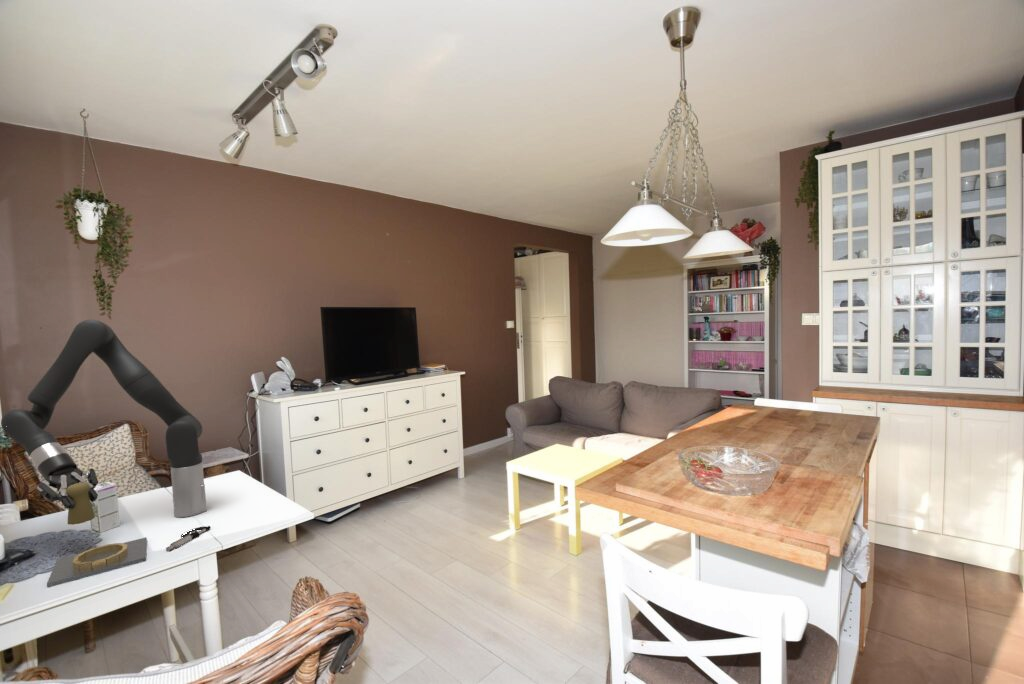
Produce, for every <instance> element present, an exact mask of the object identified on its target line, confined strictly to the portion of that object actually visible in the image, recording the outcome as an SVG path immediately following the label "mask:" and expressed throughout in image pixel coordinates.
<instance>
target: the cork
mask: <svg viewBox="0 0 1024 684" xmlns="http://www.w3.org/2000/svg"><path fill="white" fill-rule="evenodd" d="M88 483H89V482H88ZM88 483H85V482H83V483H76V484H73V485H70V486H69V487H68V488H67V489H66V492H67V495H69V496H70V498H71V499H72V501H73V502H74V503H75V506H74V508H73V509H70V510H69V509H67V510H68V513H67V525H70V526H71V525H73V526H74V525H79V524H84V523H87V522H89V521H90V522H91V520H92V519H93V518H95V516H94V512H93V509H92V505H91V502H90V498H89V495H88V492H89V490H90V486H89V484H88Z"/></svg>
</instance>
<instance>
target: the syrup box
mask: <svg viewBox="0 0 1024 684" xmlns="http://www.w3.org/2000/svg"><path fill="white" fill-rule="evenodd" d="M94 490H95V491H96V493H97V494H98V497H97V499H96V501H94V502H91V501H90V502H91V505H92V509H93V512H94V516H95V518H93V519H92V520H90V528H91V530H92V531H95V532H98V533H103V532H106V530H107V531H109V529H110V530H111V528H112V529H115V528H117V527H120V526H121V522H120V512H119V511H120V510H119V501H118V494H117V493H118V492H117V485H116V483H113V482H109V481H105V482H101V483H99V482H98V484H97V485H96V487H95V488H94Z"/></svg>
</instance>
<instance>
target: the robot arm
mask: <svg viewBox="0 0 1024 684" xmlns="http://www.w3.org/2000/svg"><path fill="white" fill-rule="evenodd" d="M92 353H93V354H95V355H96V356H97V357H98V358H99V359H100V360H102V362H103V363H104V364H105V365H106V366H107V368H108V369H109V370H110V372H111V374H112V376H113V377H114V379H115V380H116V382H117V383H118V385H119V386H120V387H121V388H122V389H123V390H124V391H125V393H126V394H127V395H128V396H129V397H130V398H131V399H133V401H134V402H136V403H138V404H139V405H141V406H142V407H144V408H146V409H148V410H149V411H150V412H152V413H153V414H156V415H157V416H158V417H159V418H160V419H161V420H162V421H163V422H164V423H165V424H166V426H167V429H166V432H165V446H166V454H167V460H168V461H169V463H170V464H169V465H170V473H171V474H170V476H171V478H170V479H171V488H172V489H171V490H172V501H173V502H172V503H173V514H174V517H176V518H187V517H193V516H196V515H199V514H201V513H204V512H207V499H206V487H205V486H206V485H205V478H204V465H203V464H204V463H203V455H202V453H201V452H200V450H199V438H200V437H201V435H202V434H203V426H202V423H201V421H200V420H199V419H197V417H196V416H194V414H192V413H191V412H190V411H188V410H187V409H186V408H185V407H184V406H182V404H180V402H178V400H177V399H176V398H175V397H174V396H173V395H172V394H171V392H170V391H169V390H168V389H167V388H166V386H164V384H162V382H161V381H160V380H159V379H158V377H156V376H155V374H154V373H153V372H152V371H151V370H150V369H149V368H148V367H147V366H146V365H145V364H143V363H142V362H141V361H140V360H139V359H138V358H137V357H136V356H135V355H133V354H132V353H131V352H130V351H129V350H128V349H127V348H126V347H125V345H124V343H122V341H121V340H120V338H119V337H118V336H117V334H116V333H115V331H114V330H113V329H112V327H110V326H109V325H108V324H106V323H104V322H102V321H100V320H97V319H86V320H82V321H81V322H79V323H77V324H76V325H75V326H74V328H73V331H72V332H71V334H70V336H69V338H68V340H67V342H66V344H65V345H64V347H63V349H62V350H61V352H60V353H59V355H58V356H57V358H56V359H55V361H54V362H53V364H52V365H51V366H50V368H49V369H48V370H47V371H46V373H45V374H44V375H43V376H42V377H41V378H40V379H39V381H38V383H36V385H35V386H34V388H33V389H32V390H31V391H30V393H29V394H28V396H27V400H28V401H29V402H30V403H32V406H31V407H32V408H31V410H26V409H22V408H21V409H20V408H19V409H17V408H16V409H12V410H9V411H7V412H5V414H3V416H2V418H1V420H0V427H1V428H2V430H3V431H4V433H5V434H6V435H7V436H9V437H10V438H11V439H12V440H14V441H15V442H16V443H17V444H19V445H20V446H22V447H23V448H24V451H25V452H26V454H27V455H28V456H29V457H30V459H31V462H32V464H33V465H34V467H35V468H36V469H37V471H38V472H39V474H40V475H41V476H42V478H43V479H44V480H45V482H40V483H39V484H38V485H37V487H36V489H35V490H36V492H38V493H39V494H40V495H41V496H43V497H44V498H45V499H46V500H48V501H49V502H51V503H53V502H56V501H59V502H61V504H62V506H63V507H64V508H65V509H67V510H68V509H69V510H70V509H73V508H74V506H75V503H74V502H73V501H72V499H71V498H70V496H69V495H67V492H66V489H67V488H68V487H69V486H70V485H73V484H76V483H83V482H85V483H88V484H89V486H90V490H89V492H88V495H89V498H90V501H91V502H94V501H96V499H97V497H98V494H97V493H96V491H95V490H94V488H95V487H96V485H97V484H99V479H98V477H97V473H96V471H95V469H94V468H89V469H88V470H84V471H83V470H81V469H80V468H79V467H78V465H77V464H76V462H75V460H74V459H73V458H72V457H71V455H70V454H69V453H68V451H67V450H66V448H64V447H63V446H62V445H61V444H60V442H59V440H58V439H57V438H56V437H55V436H54V434H53V433H51V432H50V431H48V430H46V428H47V426H48V425H49V423H50V421H51V418H52V417H53V413H54V411H55V407H56V405H57V404H58V402H59V401H60V400H61V398H62V397H63V396H64V395H65V393H66V392H67V391H68V389H69V388H70V386H71V385H72V383H73V382H74V380H75V377H76V375H78V371H79V369H80V368H81V366H82V365H83V364H84V362H85V360H87V358H88V357H89V356H90V355H91V354H92ZM6 426H7V427H6ZM52 488H54V489H56V491H55V490H54V489H52Z"/></svg>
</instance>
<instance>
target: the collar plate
mask: <svg viewBox="0 0 1024 684" xmlns="http://www.w3.org/2000/svg"><path fill="white" fill-rule="evenodd" d="M147 540H148V539H147V537H142V538H138V539H134V540H130V541H126V542H118V543H117V542H116V543H108V544H104V545H100V546H96V547H92V548H90V549H87V550H85V551H83V552H80V553H76V554H73V555H68V556H65V557H61V558H57V559H56V561H55V564H54V566H53V569H52V571H51V573H50V575H49V577H48V580H47V583H46V588H51V587H54V586H58V585H61V584H65V583H69V582H72V581H76V580H80V579H83V578H87V577H90V576H95V575H98V574H102V573H106V572H109V571H114V570H116V569H117V570H118V569H121V568H123V567H124V568H125V567H129V566H133V565H135V564H139V562H140V563H143V562H146V560H147V545H146V544H147V542H148V541H147ZM142 561H143V562H142ZM113 569H114V570H113Z"/></svg>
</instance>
